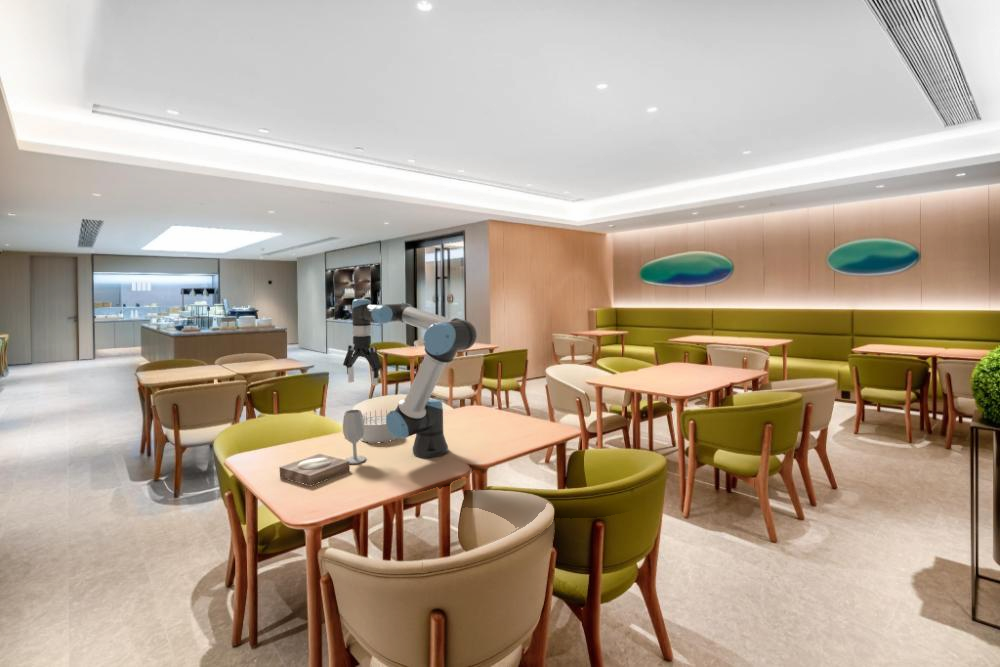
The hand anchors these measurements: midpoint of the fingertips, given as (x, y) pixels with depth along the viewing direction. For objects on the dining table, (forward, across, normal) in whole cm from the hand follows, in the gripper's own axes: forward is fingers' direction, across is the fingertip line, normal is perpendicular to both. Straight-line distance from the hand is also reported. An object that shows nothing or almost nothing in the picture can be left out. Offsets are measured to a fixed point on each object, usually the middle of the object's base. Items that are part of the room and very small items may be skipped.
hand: (362, 383), depth 219 cm
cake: (+30, +7, -18) cm, 36 cm away
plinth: (+29, -4, +30) cm, 42 cm away
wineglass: (+30, -7, +12) cm, 33 cm away
